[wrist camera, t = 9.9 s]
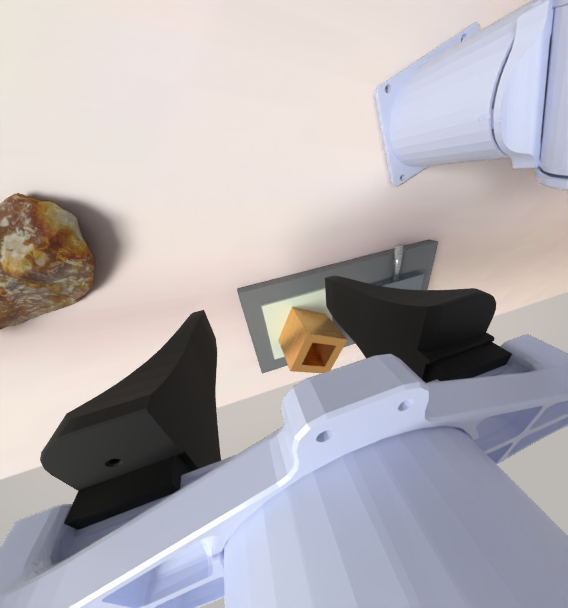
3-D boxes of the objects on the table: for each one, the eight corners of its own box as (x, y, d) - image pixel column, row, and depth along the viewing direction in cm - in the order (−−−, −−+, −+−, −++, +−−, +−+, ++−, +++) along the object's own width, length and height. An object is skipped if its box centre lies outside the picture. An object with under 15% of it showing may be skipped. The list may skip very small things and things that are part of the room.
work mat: (429, 239, 26) (440, 242, 25) (413, 318, 32) (421, 323, 31) (237, 288, 22) (238, 295, 21) (260, 366, 29) (262, 375, 27)
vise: (421, 237, 24) (457, 247, 21) (408, 310, 29) (434, 327, 26) (366, 251, 23) (394, 264, 20) (362, 324, 28) (384, 344, 25)
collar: (325, 313, 25) (347, 339, 21) (311, 344, 27) (328, 373, 23) (291, 307, 24) (307, 333, 19) (278, 340, 25) (290, 371, 21)
